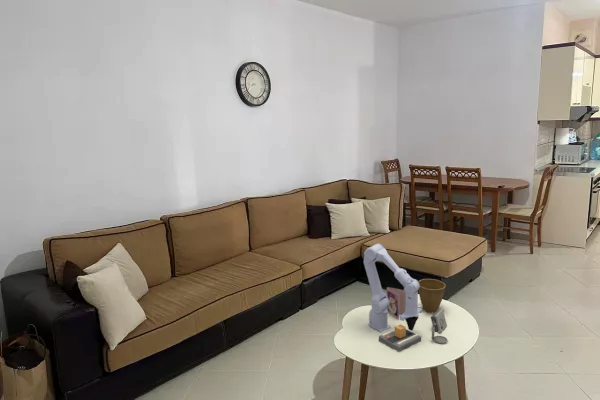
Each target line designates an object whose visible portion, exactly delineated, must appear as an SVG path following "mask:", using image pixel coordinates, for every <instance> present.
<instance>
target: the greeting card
mask: <svg viewBox="0 0 600 400" xmlns="http://www.w3.org/2000/svg"><path fill="white" fill-rule="evenodd" d="M386 296H387V298H388V299H389V301H390V305H389V307H388V314H389V315H390V316H392V317H393V318H395V319H396V320H398V321H399V320H400V316H401V315H402V314H403V313H404V312H405V308H406V292H405V290H404V289H399V288H395V287H389V286H387V287H386Z"/></svg>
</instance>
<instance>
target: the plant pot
mask: <svg viewBox="0 0 600 400" xmlns="http://www.w3.org/2000/svg"><path fill="white" fill-rule="evenodd" d="M417 281H418V282H419V284H420V288H419V289H418V290H417V291H418V296H419V301H420V304H421V306H422V310H423V311H424V312H426V313H428V314H434V313H435V312H436V311H439V308H440V307H441V306H440V305H441V304H442V300H443V298H444V294H445V291H446V284H445V283H444V282H442V281H441V280H439V279H434V278H433V279H432V278H423V279H420V280H417Z"/></svg>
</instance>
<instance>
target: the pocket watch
mask: <svg viewBox="0 0 600 400" xmlns="http://www.w3.org/2000/svg"><path fill="white" fill-rule="evenodd" d="M435 332H436V331H435V326H434V321H433V325H431V339H432V340H433V341H434V343H437V344H439V345H442V344H447V343H448V341H449V340H448V338H447V337H445V336H443V335H435Z"/></svg>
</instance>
